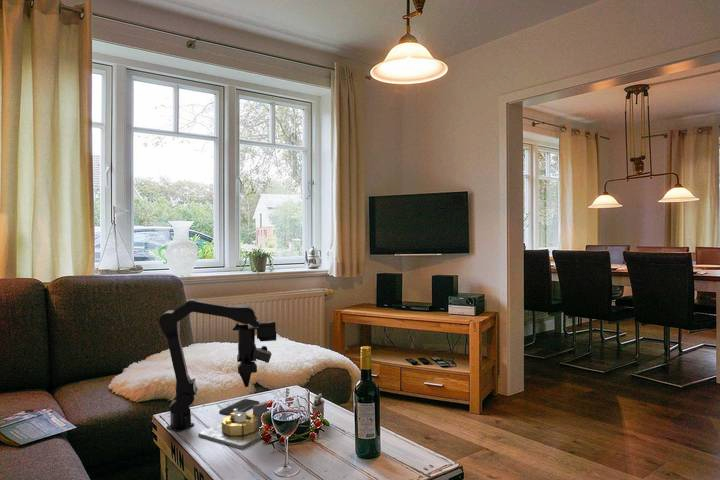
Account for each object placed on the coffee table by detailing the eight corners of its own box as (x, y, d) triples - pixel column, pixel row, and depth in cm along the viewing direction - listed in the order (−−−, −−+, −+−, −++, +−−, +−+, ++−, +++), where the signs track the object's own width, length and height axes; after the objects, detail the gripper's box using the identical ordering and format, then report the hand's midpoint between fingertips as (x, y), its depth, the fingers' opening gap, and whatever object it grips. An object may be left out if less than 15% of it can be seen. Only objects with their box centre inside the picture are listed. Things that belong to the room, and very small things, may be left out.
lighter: (319, 430, 161) (319, 400, 161) (309, 429, 162) (309, 399, 162) (326, 421, 169) (326, 392, 169) (316, 420, 170) (316, 391, 170)
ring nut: (233, 438, 152) (233, 419, 152) (216, 428, 160) (216, 410, 160) (282, 422, 165) (282, 404, 165) (264, 413, 173) (264, 396, 173)
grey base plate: (198, 436, 157) (198, 417, 157) (238, 417, 172) (238, 401, 172) (242, 449, 147) (242, 429, 147) (280, 428, 163) (280, 410, 163)
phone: (260, 401, 187) (234, 414, 174) (260, 404, 187) (234, 417, 174) (244, 398, 191) (217, 411, 177) (244, 401, 191) (217, 414, 177)
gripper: (272, 346, 162) (272, 393, 163) (267, 335, 180) (268, 377, 181) (237, 348, 159) (238, 396, 160) (236, 337, 178) (237, 379, 178)
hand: (246, 386), depth 169 cm, fingers closed
